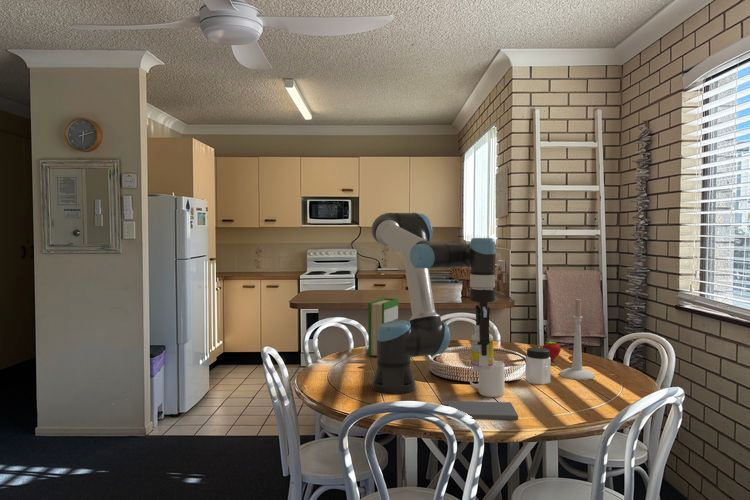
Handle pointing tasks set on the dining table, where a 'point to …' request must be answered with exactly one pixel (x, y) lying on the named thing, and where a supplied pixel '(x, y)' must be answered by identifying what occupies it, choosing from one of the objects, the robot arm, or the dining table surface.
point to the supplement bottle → (475, 350)
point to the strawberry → (552, 349)
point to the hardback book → (379, 319)
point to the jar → (538, 365)
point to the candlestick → (577, 351)
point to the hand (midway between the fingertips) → (482, 362)
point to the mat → (486, 409)
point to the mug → (490, 380)
